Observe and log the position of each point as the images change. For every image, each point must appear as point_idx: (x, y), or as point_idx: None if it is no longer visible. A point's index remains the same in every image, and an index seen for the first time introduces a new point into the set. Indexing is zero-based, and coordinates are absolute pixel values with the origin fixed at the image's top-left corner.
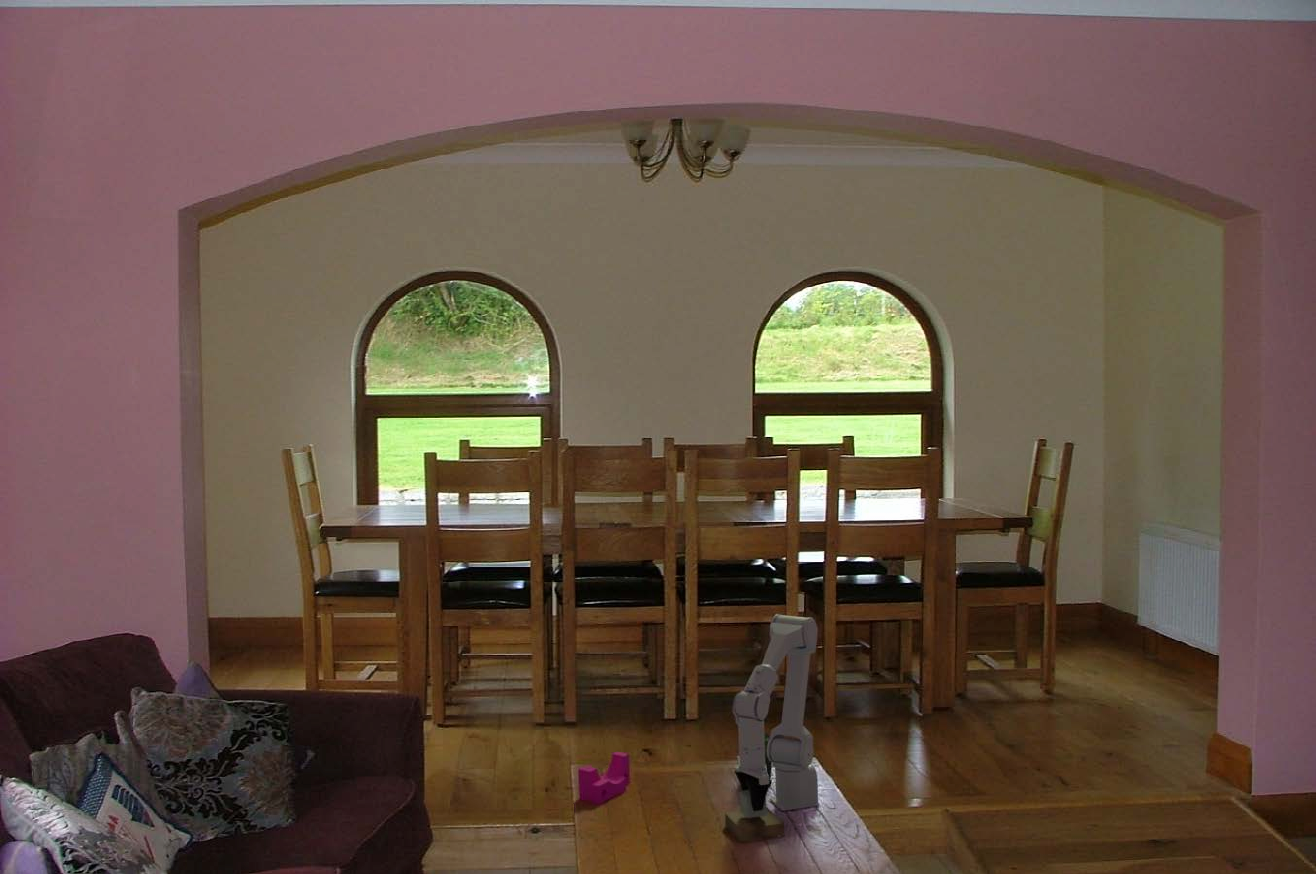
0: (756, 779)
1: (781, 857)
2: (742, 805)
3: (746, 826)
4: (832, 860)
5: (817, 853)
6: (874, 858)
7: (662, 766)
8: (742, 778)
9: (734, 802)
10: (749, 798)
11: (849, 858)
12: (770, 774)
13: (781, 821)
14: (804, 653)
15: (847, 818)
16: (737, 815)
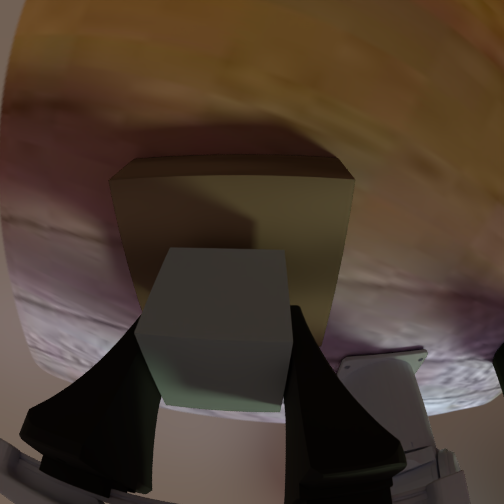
0: (48, 473)
1: (28, 244)
2: (238, 279)
3: (139, 216)
4: (31, 326)
5: (57, 321)
6: (51, 373)
7: None
8: (301, 445)
9: (482, 271)
10: (141, 343)
11: (44, 350)
12: (495, 370)
13: None
14: None
15: (236, 418)
16: (295, 224)
